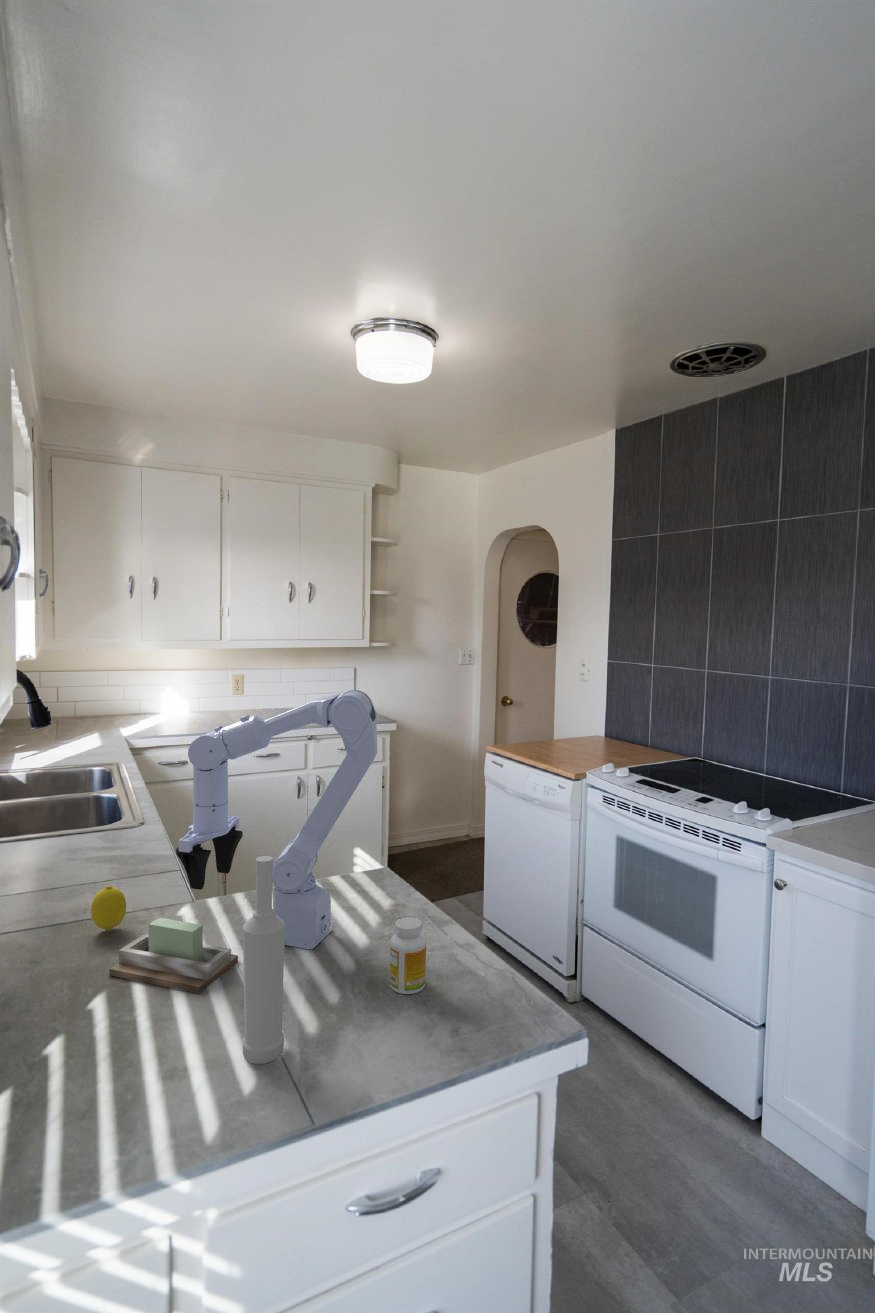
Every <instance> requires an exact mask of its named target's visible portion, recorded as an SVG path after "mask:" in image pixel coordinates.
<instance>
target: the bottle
mask: <svg viewBox="0 0 875 1313" xmlns="http://www.w3.org/2000/svg"><path fill="white" fill-rule="evenodd" d="M273 859H274V858H273V857H272V856H270V855H262V856H258V857H256V858H255V878H256V879H255V880H256V881H255V885H256V886H255V894H256V895H255V910H254V911H253V912H252V916H251V917H249V919H248V920H247V921H246V922H245V923H244V924H243V925H242V945H243V946H242V950H243V954H242V957H243V958H242V959H243V1000H244V1001H243V1005H244V1006H243V1007H244V1008H243V1010H244V1019H243V1020H244V1037H243V1038H242V1054H243V1055H242V1056H243V1057H244V1059H245V1061H247V1062H248V1063H251V1064H253V1065H255V1064H256V1065H263V1064H269V1063H271V1062H274V1061H276V1059H278V1058H279V1057H280V1056H281V1054H282V1053H283V1050H284V1047H285V1046H284V1045H285V1036H284V1032H283V1010H284V1009H283V1008H284V1007H283V1004H284V1003H283V1001H284V998H283V997H284V970H285V969H284V968H285V945H284V938H285V922H284V921H283V920H282V919H281V918H279V917H278V916H277V915H275V910H273V883H272V873H273V863H274V861H273Z"/></svg>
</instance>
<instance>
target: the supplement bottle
mask: <svg viewBox="0 0 875 1313" xmlns="http://www.w3.org/2000/svg"><path fill="white" fill-rule="evenodd" d="M422 925H423V923H422V921H421V919H418V918H417V917H402V918H399V919H397V920H396V921H395V923H394V927H395V928H394V932H395V933H394V934H393V936H391V938H390V945H389V946H390V947H389V948H390V950H389V951H390V953H389V986H390V988H391V989H392V990H393V992H396V993H398V994H402V995H410V994H417V993H419V992H421V991H423V989H425V986H426V976H427V975H426V970H427V966H426V965H427V941H426V936H424V935H423V934H422V929H423V926H422Z"/></svg>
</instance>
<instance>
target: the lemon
mask: <svg viewBox="0 0 875 1313" xmlns="http://www.w3.org/2000/svg"><path fill="white" fill-rule="evenodd" d="M126 912H127V902H126V896H125V894H124V893H123V892H122V890H120V888H117V887H115V886H112V885H106V886H105V887H104V888H102V889H100V890H99V891H98V892H97V893H96V894H95V895H94V897H93V900H92V902H91V908H90V916H91V920H92V922H93V924H94V925H95V926H97V928H99V929H101V930H105V931H106V932H110V931H112V930H113V929H114V928H116V927H117V926H119V925H120V924H121V923H122V921H123V920H124V918H125V916H126Z"/></svg>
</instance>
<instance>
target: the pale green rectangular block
mask: <svg viewBox="0 0 875 1313" xmlns="http://www.w3.org/2000/svg"><path fill="white" fill-rule="evenodd" d="M203 930H204V926H203V924H198V923H193V922H188V921H182V920H181V921H180V920H175V919H170V918H165V917H158V918H156V919H155V920H153V921H151V922H150V923H149V924H148V934H149V952H151V953H157V954H162V955H167V956H173V957H178V958H183V959H188V960H194V961H199V962H203V944H204V942H203V941H204V936H203V934H204V931H203Z"/></svg>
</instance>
